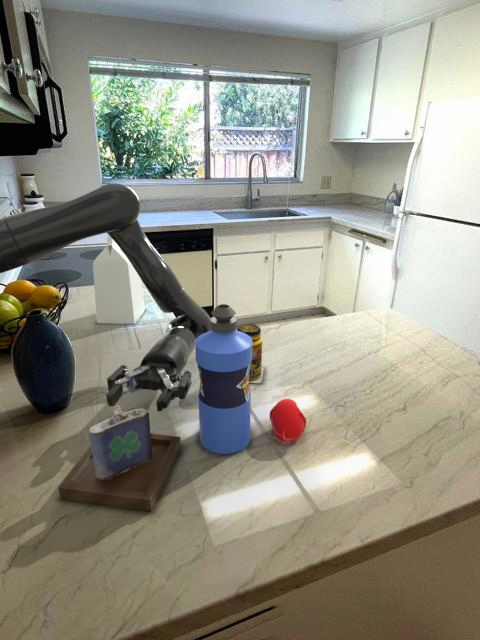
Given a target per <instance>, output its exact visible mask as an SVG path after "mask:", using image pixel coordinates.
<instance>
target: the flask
mask: <svg viewBox="0 0 480 640" xmlns="http://www.w3.org/2000/svg"><path fill="white" fill-rule="evenodd" d="M121 408H122V407H121V406H120V405H114V406H113V408H111V409H110V411H113V415H112V416H111V417H109V418H107V419H104V420H103V421H101V422H98V423H95V424H94V425H92V426H91V427H90V428H89V429H88V436H89V441H90V446H91V448H92V454H93V461H94V467H95V475H96V478H97V479H98V480H99V481H102V480H108V479H111V478H113V476H116V475H118V474H121V473H124V472H126V471H128V470H129V469H130V468H132V467H136V466H137V465H139V464H143V463H146V462H149V461H150V460H151V459H152V445H151V434H152V433H151V423H150V421H151V420H150V412H149V411H148V410H147V409H144V408H141V407H140V408H137V409H136V408H135V409H132V410H129V411H125V410H121Z"/></svg>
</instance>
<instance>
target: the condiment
mask: <svg viewBox="0 0 480 640" xmlns="http://www.w3.org/2000/svg"><path fill="white" fill-rule="evenodd" d="M236 331H239V332H242V333H245V334H247V335H248V336H250V337H251V338H252V361H251V365H250V373H249V380H248V381H249V384H262V380H263V375H264V370H265V367H262V359H263V339H262V334H261V331H262V329H261V327H260V325H257V324H253V323H243V324H240V325H238V326H237V329H236Z"/></svg>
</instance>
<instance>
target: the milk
mask: <svg viewBox="0 0 480 640" xmlns="http://www.w3.org/2000/svg"><path fill="white" fill-rule="evenodd" d="M106 238H107V239H106V247H105V248H103V250H102V251H101V252H100V253H99V254H98V255H97V256H96V257H95V259H94V260H93V264H92V272H93V273H92V274H93V286H94V287H93V288H94V299H95V311H96V312H95V313H96V324H114V325H115V324H119V325H125V324H126V325H135V324H136V323H137V322H138V320H139V319H140V317H141V316H143V314H144V313H145V311H146V307H145V301H144V291H143V285H142V284H143V283H142V280H141V278H140V277H139V275H138V274H137V272H136V270H135V269H134V267H133V266H132V264H131V263H130V261H129V260H128V258H127V257H126V255H125V254H124V253H123V251H122V250H121V249H120V247H119V246H118V245H117V244H116V242H115V241H114V240H113V239H112V238H111V237H110V236H109V235H108V234H107V235H106Z"/></svg>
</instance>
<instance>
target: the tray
mask: <svg viewBox="0 0 480 640" xmlns="http://www.w3.org/2000/svg"><path fill="white" fill-rule="evenodd" d="M150 434H151V445H152V459H151V460H150V461H149V462H146V463H143V464H139V465H137V466H136V467H132V468H130V469H129V470H128V471H126V472H124V473H121V474H118V475H116V476H113V478H111V479H108V480H102V481H99V480H98V479H97V478H96V475H95V467H94V461H93V454H92V448H91V445H89V447H88V448H87V450H86V451H85V452H84V454H83V455H82V456H81V457H80V459H79V460H78V461H77V462H76V464H75V465H74V466H73V468H72V469H71V470H70V471H69V473H68V474H67V475H66V477H65V478H64V479H63V481H62V482H61V483H60V484H59V486H58V492H59V496H60V499H61V500H67V501H73V502H79V503H80V502H81V503H87V504H88V503H89V504H95V505H101V506H102V505H103V506H108V507H116V508H122V509H128V510H137V511H144V512H149V513H150V512H152V511H153V509H154V507H155V505H156V503H157V501H158V499H159V496H160V494H161V492H162V489H163V487H164V485H165V484H166V481H167V478H168V477H169V474H170V472H171V470H172V467H174V463H175V461H176V459H177V456H178V455H179V453H180V450H181V448H182V442H181V436H175V435H174V436H173V435H166V434H158V433H150Z"/></svg>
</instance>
